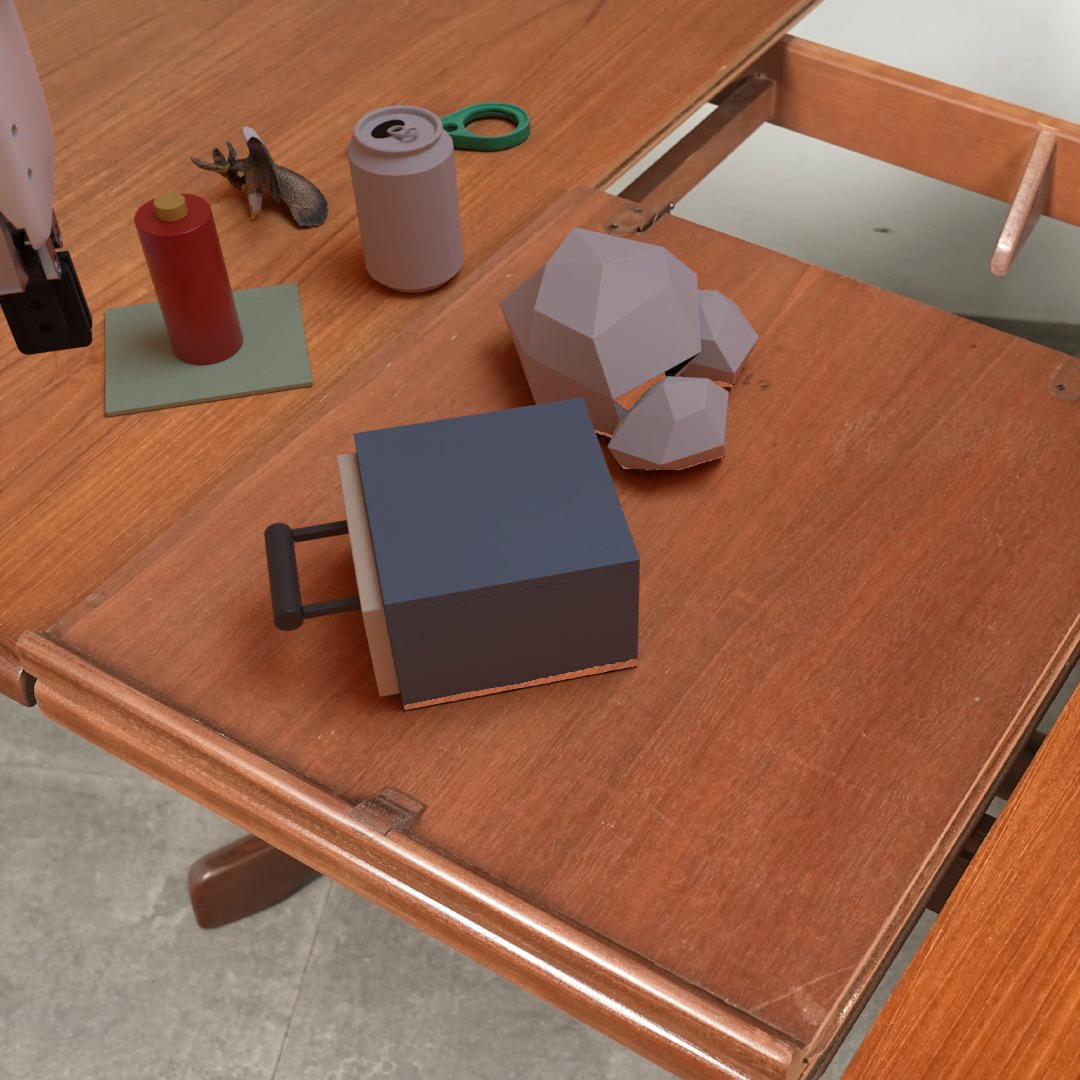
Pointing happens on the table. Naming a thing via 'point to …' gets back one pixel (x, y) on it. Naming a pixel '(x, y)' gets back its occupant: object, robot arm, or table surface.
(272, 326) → the mat
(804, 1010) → the table surface
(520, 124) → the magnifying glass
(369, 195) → the can
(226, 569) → the table surface
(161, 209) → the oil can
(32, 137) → the robot arm
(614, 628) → the cabinet
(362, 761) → the table surface
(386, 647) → the drawer
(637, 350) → the rock
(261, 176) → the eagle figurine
